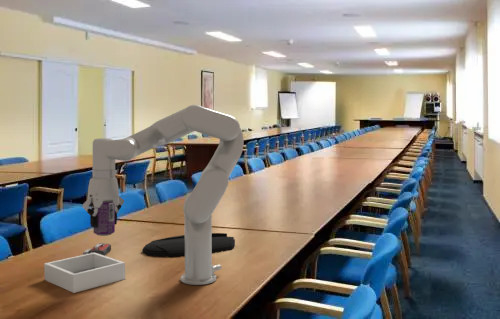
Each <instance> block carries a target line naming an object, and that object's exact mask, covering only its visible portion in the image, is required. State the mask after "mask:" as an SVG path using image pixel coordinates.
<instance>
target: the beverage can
mask: <svg viewBox="0 0 500 319" xmlns="http://www.w3.org/2000/svg"><path fill="white" fill-rule="evenodd" d="M96 216H97V217H98V227H97V228H94V227H93V233H94V234H95V235H97V236H100V237H107V236H111V235H113V234H114V233H115V232H116V229H115V228H116V225H115V205H114V203H113V200H111V201H103V202H102V205H101V206H100V208H98V212H97V214H96Z"/></svg>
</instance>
